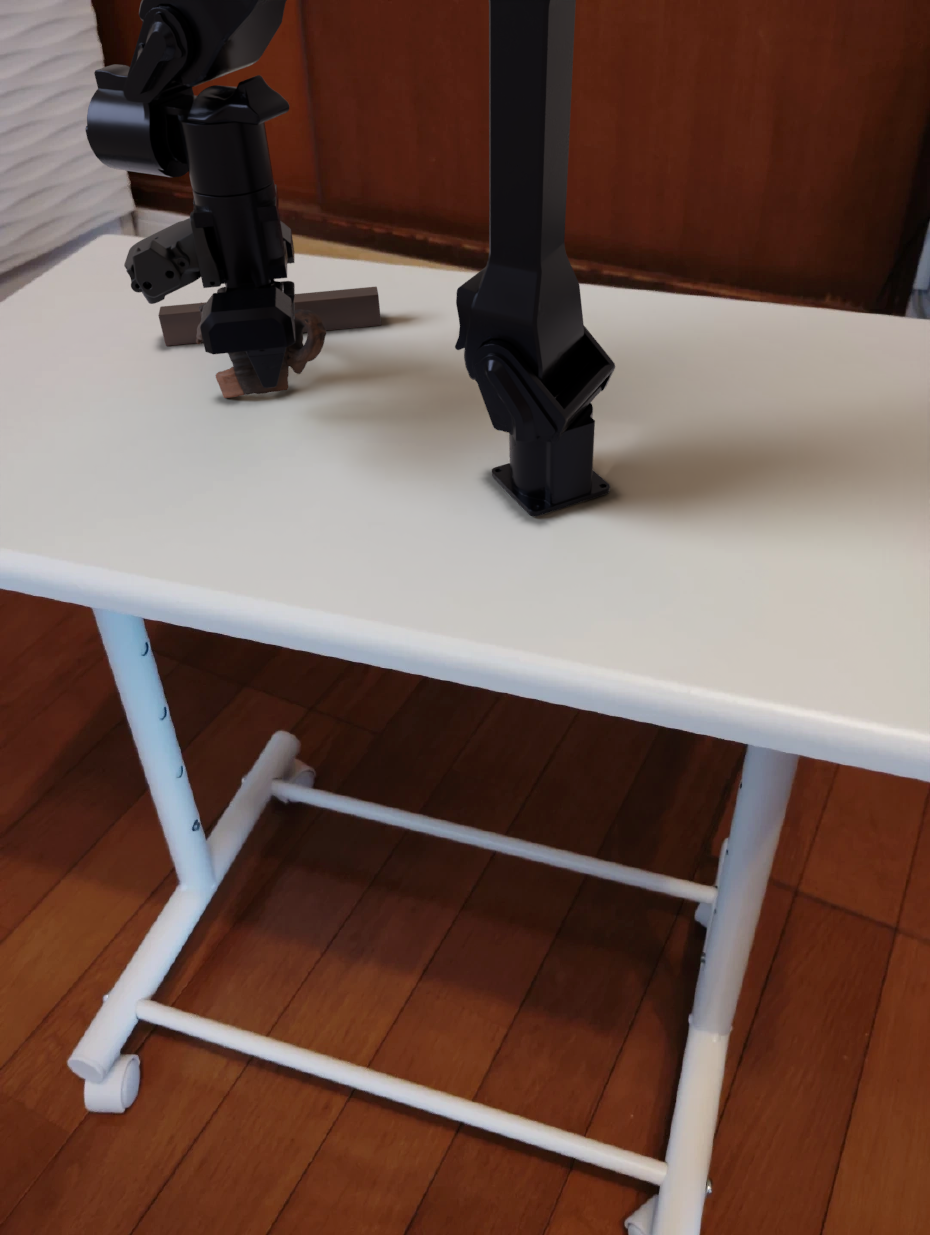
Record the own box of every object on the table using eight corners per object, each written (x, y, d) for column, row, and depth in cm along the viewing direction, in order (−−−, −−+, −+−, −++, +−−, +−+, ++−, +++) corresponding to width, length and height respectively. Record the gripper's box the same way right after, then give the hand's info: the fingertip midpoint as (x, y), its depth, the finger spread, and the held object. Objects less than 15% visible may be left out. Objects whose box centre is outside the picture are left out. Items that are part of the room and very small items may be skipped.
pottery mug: (188, 407, 86) (166, 307, 84) (244, 404, 94) (225, 313, 93) (315, 381, 82) (294, 276, 80) (361, 380, 91) (343, 285, 89)
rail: (381, 325, 96) (378, 294, 94) (165, 346, 94) (158, 315, 92) (379, 316, 97) (376, 286, 95) (167, 337, 95) (160, 306, 93)
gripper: (132, 155, 78) (178, 345, 88) (97, 241, 64) (156, 456, 74) (278, 143, 79) (307, 332, 89) (275, 225, 65) (310, 440, 75)
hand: (270, 385), depth 82 cm, fingers closed
